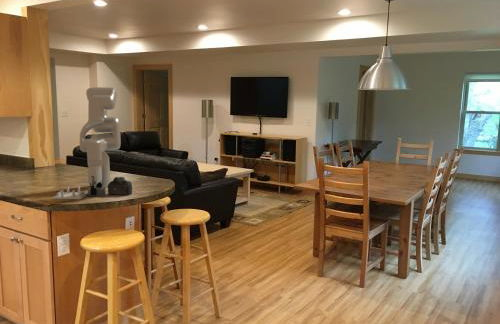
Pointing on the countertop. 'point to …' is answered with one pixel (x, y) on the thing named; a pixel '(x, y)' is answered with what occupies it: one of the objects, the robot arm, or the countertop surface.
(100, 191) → the drive
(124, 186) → the camera
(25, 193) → the countertop surface
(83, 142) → the robot arm
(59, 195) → the grey pegged board
